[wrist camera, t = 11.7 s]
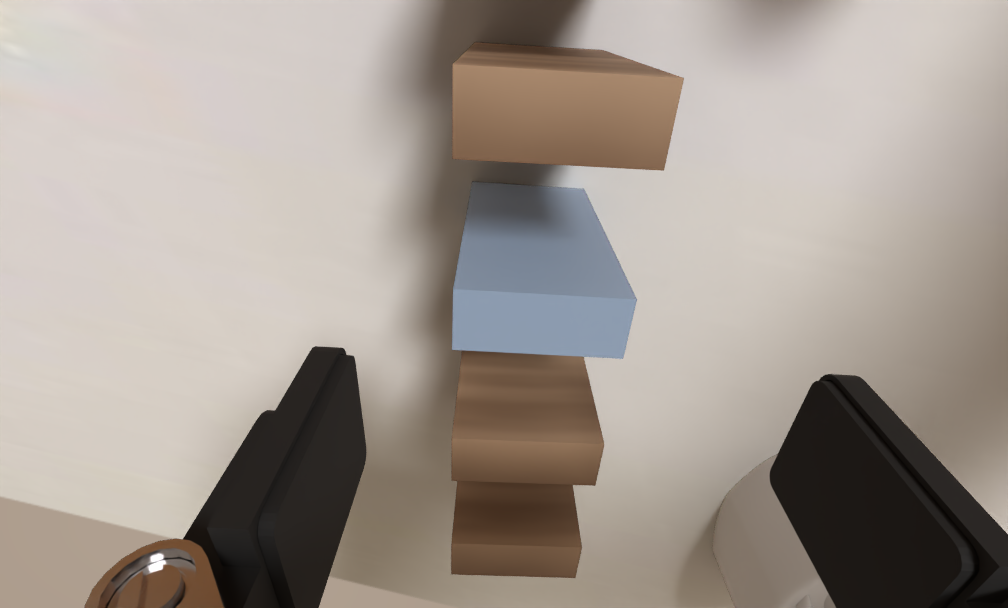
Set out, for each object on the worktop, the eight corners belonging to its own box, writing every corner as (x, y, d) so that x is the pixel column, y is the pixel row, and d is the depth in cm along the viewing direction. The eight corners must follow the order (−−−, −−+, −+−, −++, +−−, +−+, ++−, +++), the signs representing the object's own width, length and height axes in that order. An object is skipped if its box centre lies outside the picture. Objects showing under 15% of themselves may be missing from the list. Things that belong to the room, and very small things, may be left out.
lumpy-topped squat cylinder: (703, 569, 37) (754, 710, 29) (736, 442, 30) (814, 583, 23) (844, 564, 37) (933, 706, 29) (909, 436, 30) (1045, 576, 23)
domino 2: (469, 290, 25) (451, 438, 16) (568, 295, 25) (604, 444, 16) (468, 324, 26) (451, 480, 17) (564, 328, 26) (595, 485, 17)
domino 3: (467, 377, 27) (451, 543, 19) (556, 381, 28) (581, 547, 19) (466, 404, 29) (451, 574, 20) (553, 408, 29) (575, 577, 20)
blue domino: (472, 181, 22) (453, 289, 13) (584, 188, 22) (636, 299, 14) (470, 224, 23) (452, 349, 14) (577, 230, 23) (623, 358, 14)
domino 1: (474, 42, 19) (452, 64, 11) (602, 50, 19) (684, 78, 11) (473, 97, 20) (452, 158, 12) (595, 104, 20) (664, 170, 12)
